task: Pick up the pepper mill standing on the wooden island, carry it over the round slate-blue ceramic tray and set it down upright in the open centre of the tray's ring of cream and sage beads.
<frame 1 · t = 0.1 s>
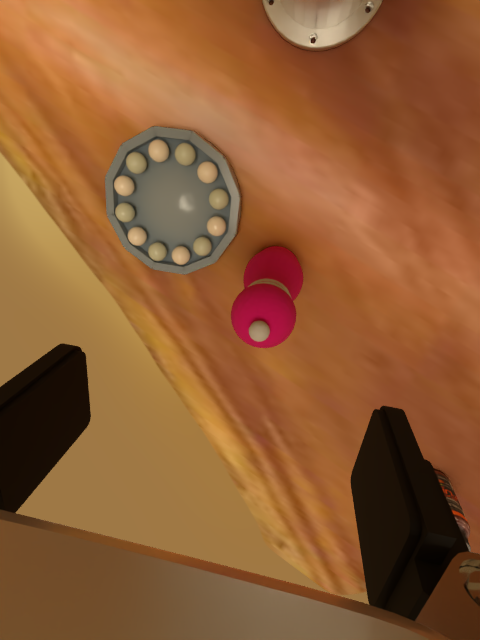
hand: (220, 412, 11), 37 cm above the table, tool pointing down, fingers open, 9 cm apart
bead tray: (176, 204, 45), on the table
pepper mill: (275, 268, 47), on the table
supplement bottle: (427, 479, 57), on the table
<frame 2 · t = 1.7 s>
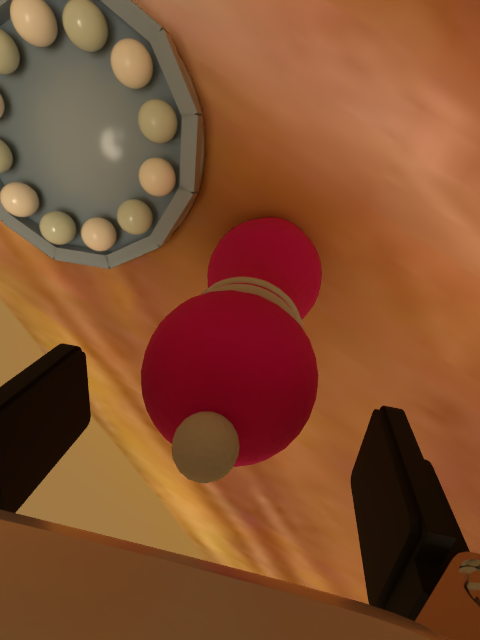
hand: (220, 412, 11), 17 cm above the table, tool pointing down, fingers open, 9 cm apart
bead tray: (90, 140, 25), on the table
pepper mill: (270, 258, 26), on the table
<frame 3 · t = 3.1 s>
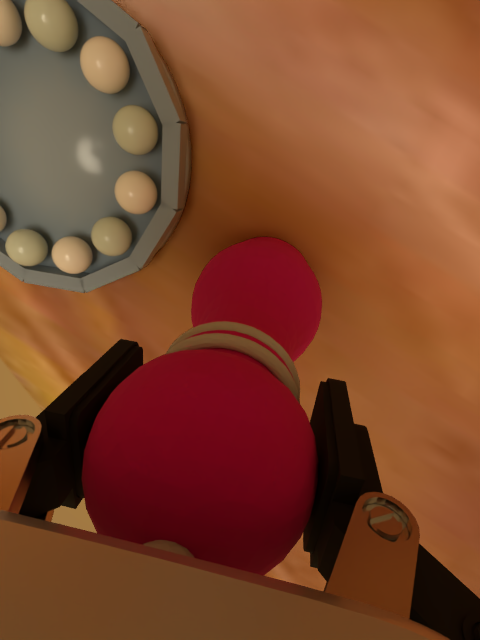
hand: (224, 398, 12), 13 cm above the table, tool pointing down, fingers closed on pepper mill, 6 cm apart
bead tray: (63, 151, 22), on the table
pepper mill: (264, 281, 24), on the table, touching gripper
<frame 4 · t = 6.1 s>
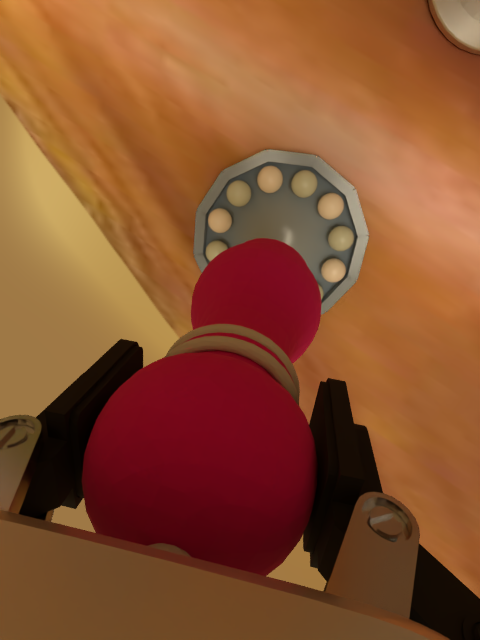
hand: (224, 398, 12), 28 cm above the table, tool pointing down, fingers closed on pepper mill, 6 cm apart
bead tray: (278, 241, 37), on the table
pepper mill: (264, 283, 24), point 15 cm above the table, touching gripper
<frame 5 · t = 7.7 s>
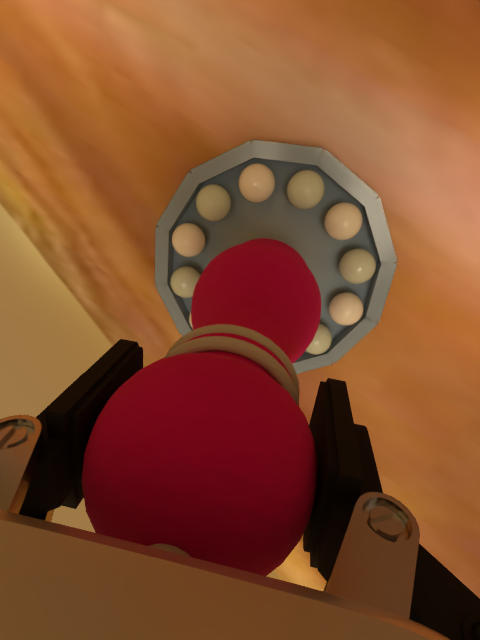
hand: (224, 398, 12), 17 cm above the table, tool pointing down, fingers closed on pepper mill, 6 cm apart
bead tray: (270, 266, 27), on the table
pepper mill: (264, 283, 24), point 4 cm above the table, touching gripper
when the fingers open (15 cm above the table, at t = 9.1 s): pepper mill stays where it is, resting on bead tray.
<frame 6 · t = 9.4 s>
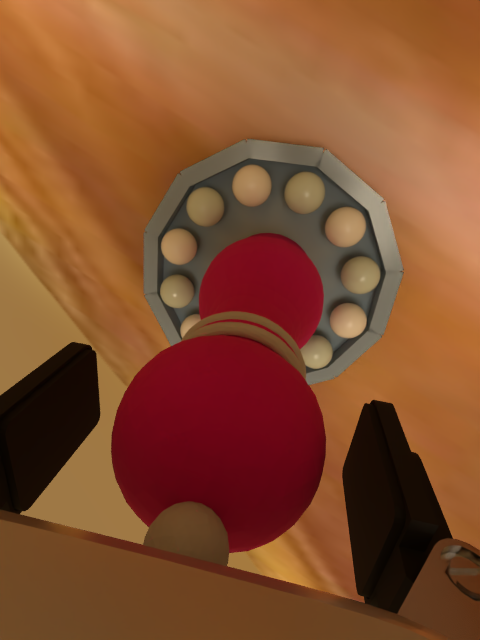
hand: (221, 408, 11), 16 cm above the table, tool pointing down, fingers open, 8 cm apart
bead tray: (267, 273, 26), on the table
pepper mill: (267, 276, 25), point 1 cm above the table, touching bead tray
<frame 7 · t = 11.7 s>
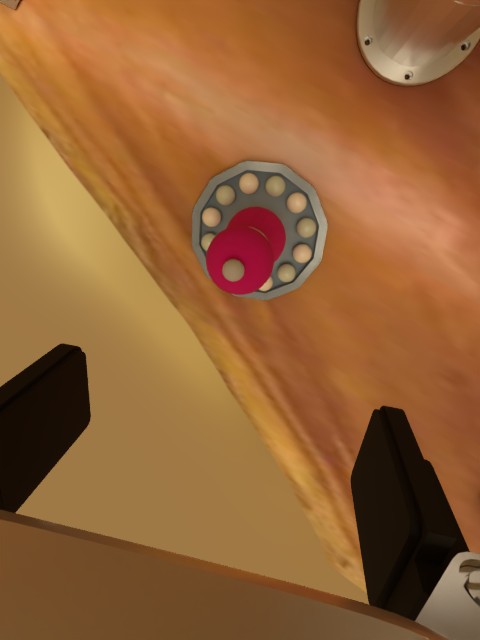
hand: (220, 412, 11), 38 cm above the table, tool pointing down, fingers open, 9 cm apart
bead tray: (258, 232, 46), on the table
pepper mill: (259, 232, 45), point 1 cm above the table, touching bead tray
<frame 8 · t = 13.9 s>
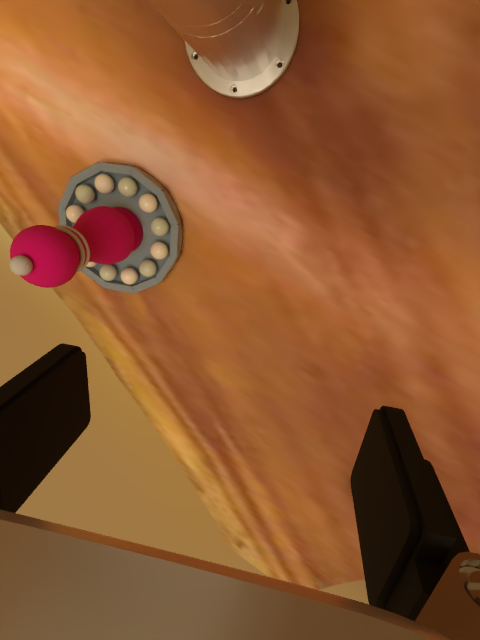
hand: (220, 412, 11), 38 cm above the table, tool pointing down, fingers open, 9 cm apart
bead tray: (125, 229, 49), on the table
pepper mill: (123, 229, 48), point 1 cm above the table, touching bead tray
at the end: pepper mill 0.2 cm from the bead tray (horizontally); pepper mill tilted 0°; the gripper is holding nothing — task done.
